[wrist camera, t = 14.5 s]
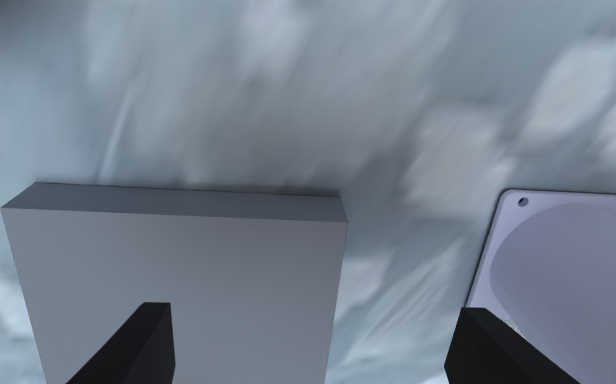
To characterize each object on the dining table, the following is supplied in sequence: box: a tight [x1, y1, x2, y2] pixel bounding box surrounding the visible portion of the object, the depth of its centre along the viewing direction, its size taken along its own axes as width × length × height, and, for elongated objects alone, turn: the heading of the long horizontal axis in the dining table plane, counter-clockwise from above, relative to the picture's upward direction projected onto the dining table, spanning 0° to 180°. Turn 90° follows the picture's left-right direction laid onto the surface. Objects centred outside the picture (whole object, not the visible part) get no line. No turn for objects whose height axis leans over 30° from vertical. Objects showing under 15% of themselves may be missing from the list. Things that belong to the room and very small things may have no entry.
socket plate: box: [0, 183, 348, 384], centre depth 22 cm, size 14×22×2 cm, turn 175°
